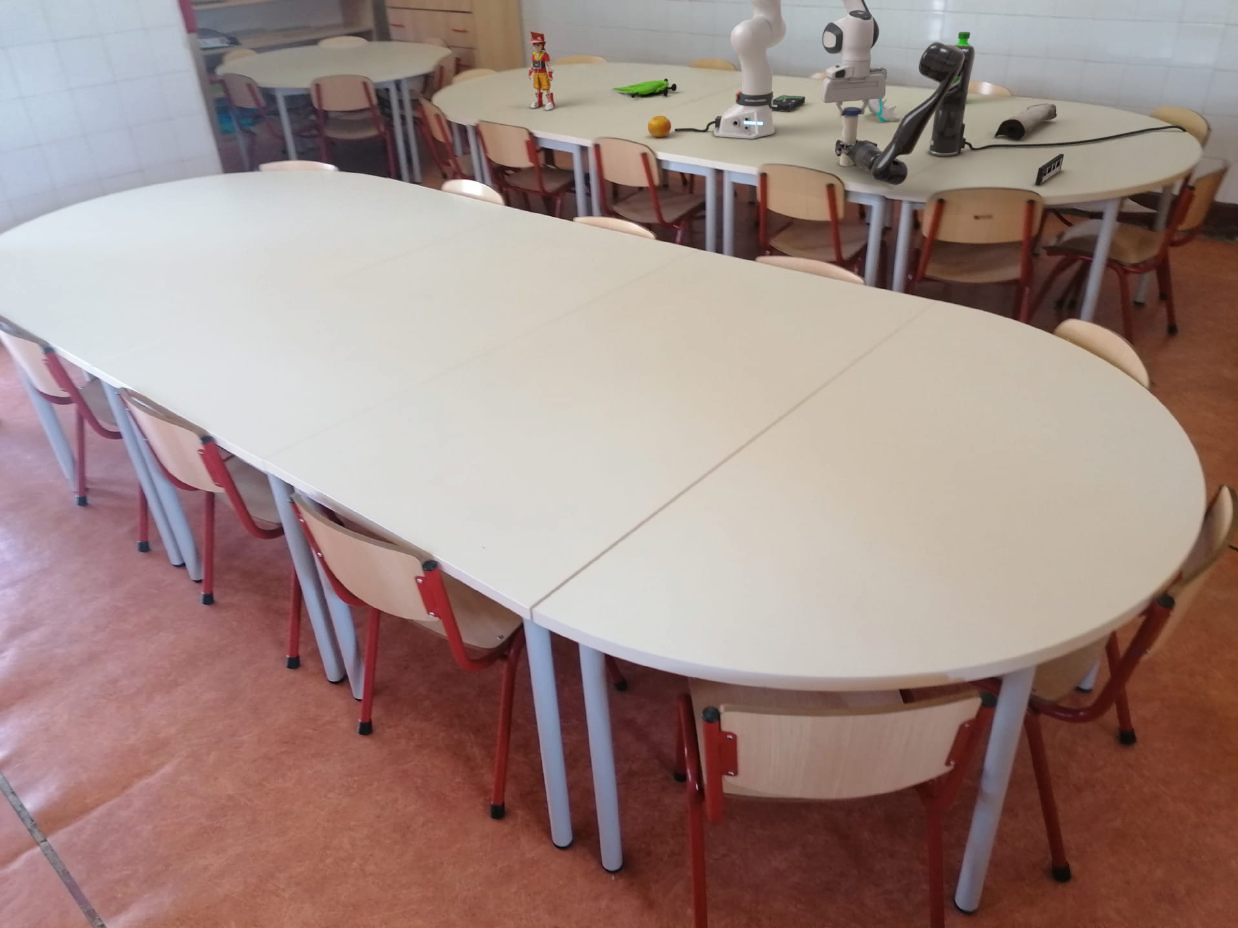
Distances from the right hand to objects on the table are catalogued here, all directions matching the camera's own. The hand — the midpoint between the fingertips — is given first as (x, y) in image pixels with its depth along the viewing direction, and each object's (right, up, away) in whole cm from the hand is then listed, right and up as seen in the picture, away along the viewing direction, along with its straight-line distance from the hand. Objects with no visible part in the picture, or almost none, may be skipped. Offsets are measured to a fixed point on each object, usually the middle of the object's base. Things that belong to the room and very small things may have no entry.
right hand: (845, 142), depth 295 cm
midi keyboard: (+57, -18, -20) cm, 63 cm away
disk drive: (-7, +38, +67) cm, 78 cm away
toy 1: (-107, +46, +88) cm, 146 cm away
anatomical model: (+25, +26, +46) cm, 59 cm away
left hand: (0, +6, -7) cm, 10 cm away
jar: (+1, -7, +2) cm, 7 cm away
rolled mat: (+70, +13, +23) cm, 75 cm away
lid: (0, +7, -8) cm, 11 cm away
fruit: (-59, +17, +41) cm, 74 cm away
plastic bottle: (+58, +37, +60) cm, 91 cm away
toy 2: (-65, +59, +102) cm, 134 cm away
